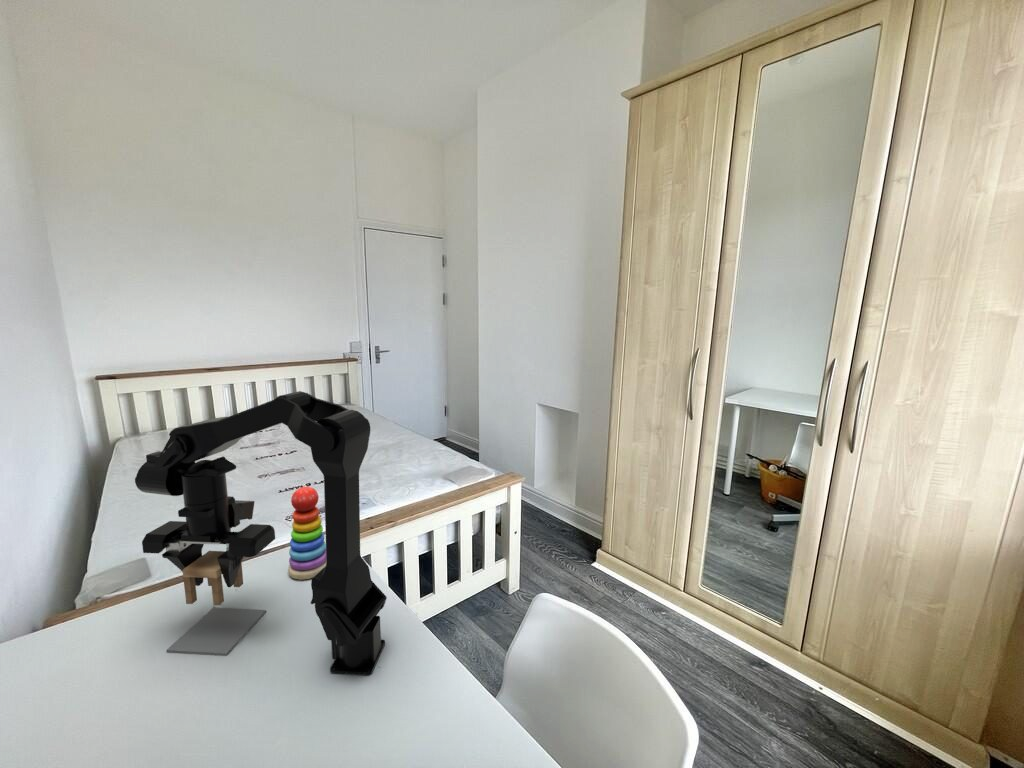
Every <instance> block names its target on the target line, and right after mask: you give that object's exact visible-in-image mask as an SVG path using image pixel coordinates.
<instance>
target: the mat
mask: <svg viewBox="0 0 1024 768" xmlns="http://www.w3.org/2000/svg"><path fill="white" fill-rule="evenodd" d="M266 613H267V609H255V608H254V609H253V608H252V609H251V608H238V607H237V608H235V607H234V608H233V607H215V606H213V607H212V608H211V609H210V610H209V611H208V612H207V613H206V614H204V615H203V616H202V617H201V618H200V619H198V621H196V622H195V623H194V624H193V625H192V626H191V627H190V628H189V629H187V631H186V632H185V633H183V634H182V635H181V636H180V637H179V638H178V639H177V640H176V641H174V642H173V644H171V645H170V646H169V647H168V648H166V650H165V651H166V653H173V654H188V655H189V654H192V655H193V654H194V655H209V656H225V657H227V656H228V655H229V654H230V653H231V652H232V651H233V650H234V648H236V646H237V645H238V644H239V643H240V642H241V641H242V640H243V639H244V637H245V636H246V635H247V634H248V633H249V632H250V631H251V630H252V628H254V626H255V625H256V624H257V623H258V622H259V621H260V620H261V619H262V617H264V615H265V614H266Z"/></svg>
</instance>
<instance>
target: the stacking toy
mask: <svg viewBox="0 0 1024 768" xmlns="http://www.w3.org/2000/svg"><path fill="white" fill-rule="evenodd" d="M318 502H319V494H318V491H317V490H316V489H315V488H313V487H311V486H301V487H299V488H298V489H296V490H294V492H293V493H292V496H291V500H290V503H291V506H292V507H293V509H295V510H294V511H293V512H292V519H293V522H292V523H291V524H292V525H291V527H292V530H291V532H290V537H291V539H290V541H289V546H290V548H289V549H288V550H289V560H288V561H289V562H288V563H289V564H288V569H287V573H288V575H289V576H290V577H291V578H292V579H295V580H299V581H300V580H308V579H309V580H310V579H312V578H313V577H314V576H315V575H316V574H317V573H319V572H320V571H321V570H322V569H323V568H324V567H325V566H326V541H325V534H324V532H323V531H324V528H323V525H322V523H323V522H322V518H321V516H320V509H319V508H318V507H317V505H318Z"/></svg>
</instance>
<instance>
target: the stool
mask: <svg viewBox="0 0 1024 768" xmlns="http://www.w3.org/2000/svg"><path fill="white" fill-rule="evenodd" d="M224 552H226V550H225V551H224V550H209V551H206V553H204V554H202V556H201V557H200V558H198V559H197V560H196V561H194V562H193V563H191V564H190V565H189V566H187V567H186V568H184V569H183V570H182V571H183V572H182V571H181V572H182V577H183V586H184V595H185V596H184V597H185V604H186V605H193V604H194V603H196V601H198V596H197V586H196V585H195V577H198V578H203V579H207V586H209V587H211V594H212V603H213V606H221V605H222V604H224V602H225V596H224V595H225V594H224V585H223V578H222V577H223V575H222V572H221V569H220V566H219V563H218V560H217V558H218V557H219V556H220V555H222V554H223V553H224ZM242 564H243V563H242V562H241V564H240V568H239V571H238V574H237V577H236V580H235V583H234V585H233V588H240V587H242V586H243V584H244V578H243V577H244V576H243V575H244V574H243V565H242Z"/></svg>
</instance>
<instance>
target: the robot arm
mask: <svg viewBox="0 0 1024 768" xmlns="http://www.w3.org/2000/svg"><path fill="white" fill-rule="evenodd" d="M280 424H283V425H285V426H286V427H287V428H288V430H289V431H290V432H291V434H292V435H293V436H294V438H295V439H296V440H297V441H299V442H301V443H303V444H305V445H306V446H308V447H310V452H311V457H312V458H311V459H312V460H313V462H314V464H315V465H316V467H317V468H318V469H319V470H320V473H322V475H323V493H324V494H323V495H324V522H325V523H324V524H325V525H324V527H325V543H326V566H325V567H324V568H323V569H322V570H321V571H320V572H319V573H317V574H316V575H315V576H314V577H313V578H311V580H310V586H311V592H312V598H311V601H310V604H311V605H314V610H315V614H316V616H317V617H318V619H319V621H320V624H321V627H322V629H323V632H324V634H325V637H326V639H327V640H328V641H330V644H331V645H330V646H331V658H332V660H333V662H332V664H331V666H330V667H329V671H330V673H332V674H345V675H346V674H347V675H365V676H367V675H371V674H373V671H374V669H375V667H376V664H377V663H378V661H379V658H380V656H381V654H382V652H383V650H384V648H385V644H386V641H385V640H384V639H382V638H381V636H382V632H381V617H380V615H378V614H379V613H380V612H381V610H383V608H384V607H385V604H386V602H387V598H388V597H387V596H386V594H385V593H384V592H383V591H382V590H381V588H379V586H378V585H377V584H376V583H375V582H373V580H372V577H371V572H370V567H369V565H368V564H367V562H366V561H365V560H364V559H363V557H362V556H361V525H360V524H361V522H360V520H361V518H360V516H361V515H360V511H361V510H360V507H361V506H360V469H361V466H362V463H363V461H364V459H365V458H366V457H365V456H366V454H367V452H368V448H369V443H370V442H369V441H370V437H371V425H370V424H371V423H370V421H369V419H368V418H366V417H365V415H364V414H362V413H361V412H360V411H358V410H354V409H348V408H346V407H344V406H343V405H340V404H337V403H334V402H331V401H328V400H323V399H320V398H317V397H315V395H312V394H310V393H308V392H305V391H301V390H299V391H294V392H290V393H285V394H282V395H278V396H276V397H275V398H274V399H272V400H269V401H267V402H264V403H262V404H259V405H257V406H254V407H251V408H249V409H246V410H243V411H241V412H237V413H234V414H231V415H229V416H221V417H220V416H219V417H214V418H209V419H205V420H201V421H197V422H194V423H190V424H185V425H181V426H178V427H175V428H173V429H172V430H171V431H170V432H169V434H168V436H169V439H168V440H167V441H166V443H165V445H164V447H163V449H162V451H160V450H158V451H154V452H151V453H149V454H148V453H147V454H146V455H145V457H146V458H145V459H146V461H145V462H144V463H143V464H141V466H140V468H139V469H138V470H137V473H136V475H135V478H134V483H135V487H136V488H137V489H138V490H140V492H143V493H146V494H147V493H148V494H155V495H162V496H173V497H180V496H183V505H184V507H183V508H181V509H179V510H177V514H178V518H185V521H181V520H180V521H179V520H178V521H176V520H169V521H167V522H166V523H163V524H162V525H160V526H158V527H157V528H155V529H153V530H151V531H149V532H147V533H146V534H145V535H144V537H143V539H142V542H141V545H142V553H143V554H160V553H162V552H163V551H164V550H165V552H163V553H162V554H161V556H162V558H163V559H167V560H168V561H169V562H171V563H172V564H173V565H174V566H175V567H177V569H179V570H180V571H181V572H182V573H183V571H182V570H183V569H184V568H186V567H187V566H189V565H190V564H191V563H193V562H194V561H196V560H197V559H198V558H200V557H201V556H203V553H202V552H203V551H202V550H203V548H204V545H225V546H226V550H225V551H226V552H224V553H223V554H222V555H220V556H219V557H218V558H217V560H218V563H219V566H220V569H221V572H222V577H223V578H222V579H223V580H224V582H225V584H226V587H227V588H231V587H233V586H234V583H235V580H236V577H237V574H238V571H239V568H240V564H241V563H242V562H243V558H252V557H255V556H257V555H258V554H259V553H260V552H262V551H263V550H264V549H265V548H267V546H269V545H270V544H271V543H272V542H273V541H274V540H276V531H275V527H274V526H272V525H270V524H258V523H257V524H256V523H250V524H249V525H247V526H246V527H245V528H243V529H242V530H239V531H231V530H232V528H236V527H238V526H239V525H240V524H241V521H242V520H243V521H245V520H252V519H253V516H254V509H255V508H254V507H255V501H254V500H238V499H237V500H236V499H235V498H236V497H234V496H231V495H230V496H228V495H229V494H228V486H227V485H228V484H227V476H226V474H227V473H230V472H232V471H234V470H236V469H237V466H236V464H235V463H234V462H231V461H230V460H228V459H227V458H226V457H225V456H221V457H218V458H214V459H205V458H207V457H210V456H213V455H216V454H220V453H221V452H225V451H227V450H228V449H229V448H231V447H233V446H234V445H236V444H237V443H238V442H239V440H241V439H243V438H245V437H247V436H249V435H252V434H255V433H258V432H261V431H263V430H266V429H270V428H272V427H275V426H278V425H280ZM201 459H202V460H201ZM203 583H204V578H198V577H195V585H196V587H199V586H201V585H202V584H203Z"/></svg>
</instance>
